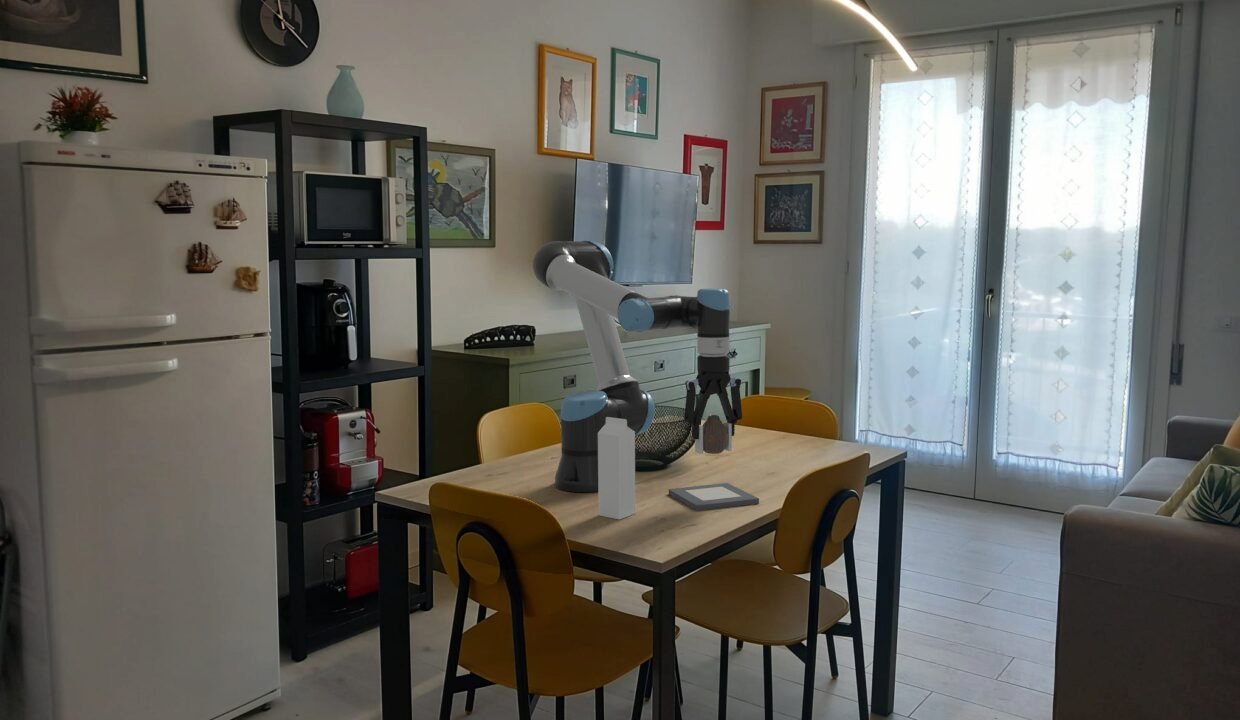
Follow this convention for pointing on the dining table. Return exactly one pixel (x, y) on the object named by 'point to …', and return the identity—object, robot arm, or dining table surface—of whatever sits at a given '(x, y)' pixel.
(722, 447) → the vase
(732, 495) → the rest mat
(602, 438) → the milk
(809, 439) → the dining table surface
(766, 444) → the dining table surface
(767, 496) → the dining table surface
